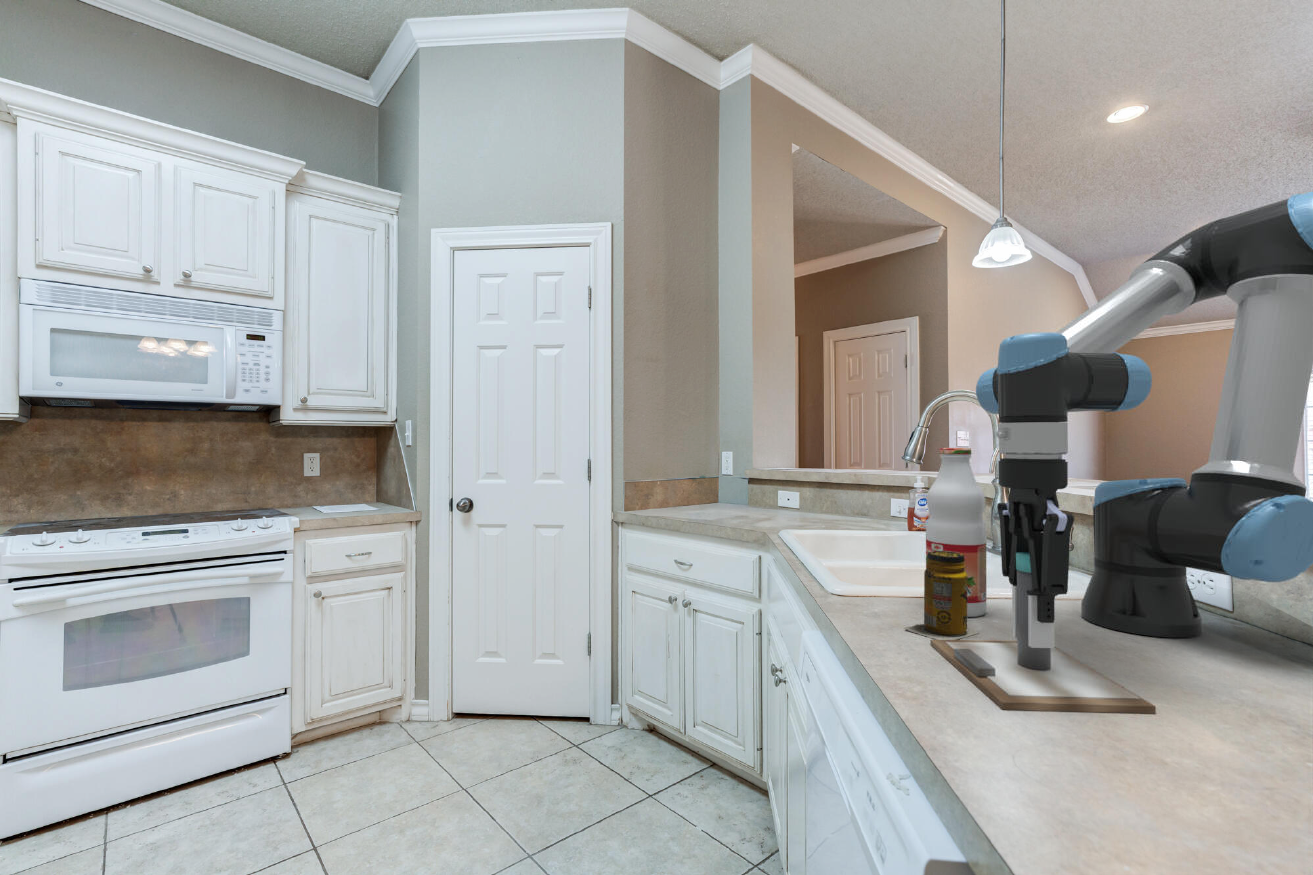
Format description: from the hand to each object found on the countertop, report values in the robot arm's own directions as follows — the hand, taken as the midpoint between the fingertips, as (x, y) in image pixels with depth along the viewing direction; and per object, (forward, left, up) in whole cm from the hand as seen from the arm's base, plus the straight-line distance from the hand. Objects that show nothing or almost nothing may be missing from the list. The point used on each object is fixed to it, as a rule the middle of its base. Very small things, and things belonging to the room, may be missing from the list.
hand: (1032, 641), depth 78 cm
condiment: (+5, -16, -4) cm, 18 cm away
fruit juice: (-2, -28, -4) cm, 29 cm away
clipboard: (+1, +1, -4) cm, 4 cm away
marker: (0, 0, -3) cm, 3 cm away
